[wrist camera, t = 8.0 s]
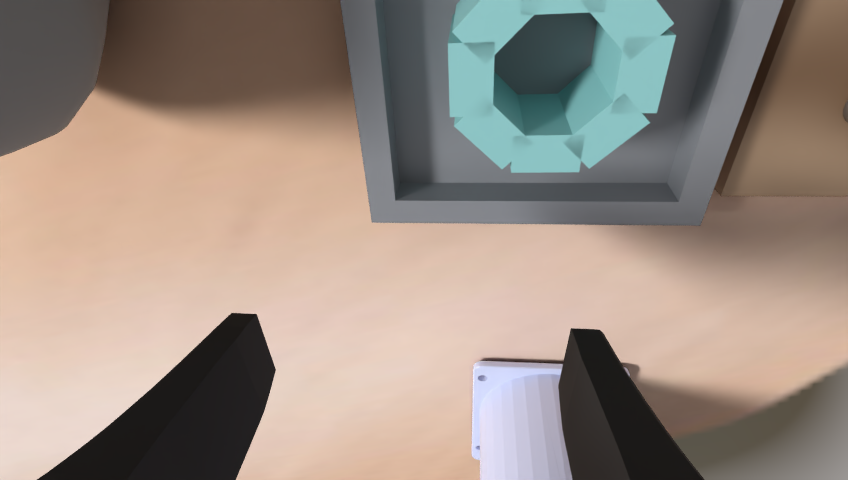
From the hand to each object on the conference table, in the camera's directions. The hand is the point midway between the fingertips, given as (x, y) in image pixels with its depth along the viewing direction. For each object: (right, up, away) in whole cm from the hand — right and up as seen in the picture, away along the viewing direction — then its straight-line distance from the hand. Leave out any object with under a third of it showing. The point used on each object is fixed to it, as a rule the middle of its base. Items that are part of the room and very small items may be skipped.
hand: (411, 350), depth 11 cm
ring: (+4, +9, +4) cm, 10 cm away
